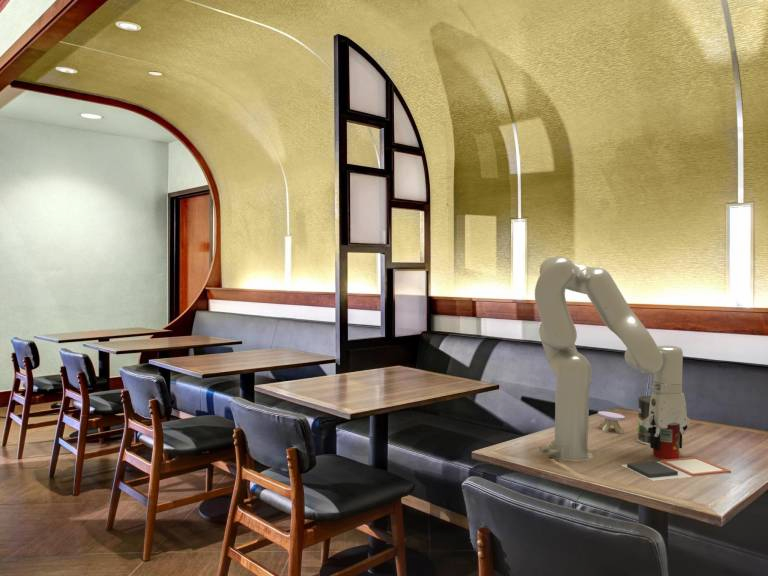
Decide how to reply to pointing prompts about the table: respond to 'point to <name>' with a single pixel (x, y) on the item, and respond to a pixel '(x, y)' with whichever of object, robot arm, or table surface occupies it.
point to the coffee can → (642, 415)
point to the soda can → (669, 442)
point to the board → (680, 475)
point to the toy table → (611, 421)
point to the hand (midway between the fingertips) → (666, 447)
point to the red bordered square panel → (695, 466)
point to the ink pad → (652, 469)
